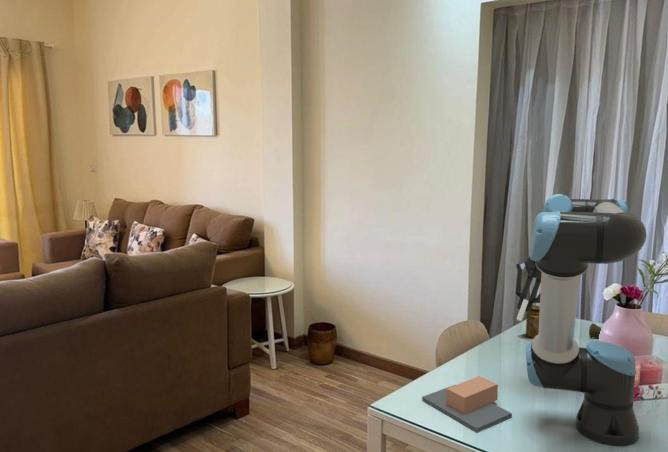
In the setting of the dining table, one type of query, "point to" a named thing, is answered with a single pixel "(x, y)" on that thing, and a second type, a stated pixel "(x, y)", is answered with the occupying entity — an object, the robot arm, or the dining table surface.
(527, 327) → the condiment
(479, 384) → the tall block
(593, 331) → the kendama
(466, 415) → the rubber mat
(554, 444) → the dining table surface
